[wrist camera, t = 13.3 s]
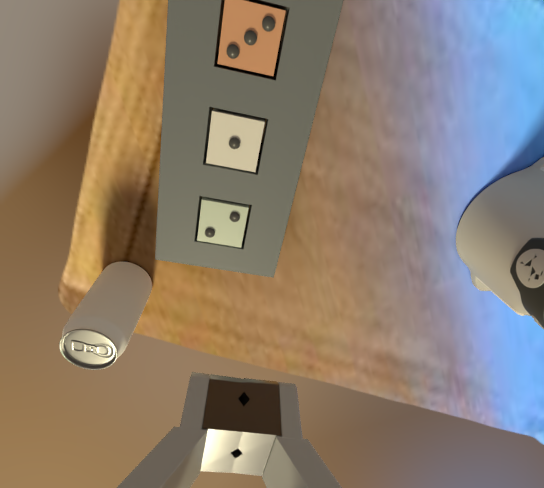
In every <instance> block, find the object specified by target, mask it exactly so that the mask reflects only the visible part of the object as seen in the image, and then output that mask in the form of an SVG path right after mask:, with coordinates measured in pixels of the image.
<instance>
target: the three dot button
mask: <svg viewBox="0 0 544 488" xmlns="http://www.w3.org/2000/svg"><path fill="white" fill-rule="evenodd" d="M285 12H286V11H285V10H281V9H277V8H273V7H269V6H265V5H261V4H257V3H253V2H249V1H245V0H225V3H224V11H223V20H222V29H221V37H220V46H219V55H218V63H217V64H221V65H225V66H230V67H234V68H239V69H243V70H247V71H252V72H256V73H261V74H265V75H270V76H274V70H275V65H276V60H277V54H278V49H279V44H280V38H281V33H282V28H283V22H284V17H285Z"/></svg>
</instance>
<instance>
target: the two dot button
mask: <svg viewBox="0 0 544 488" xmlns="http://www.w3.org/2000/svg"><path fill="white" fill-rule="evenodd" d="M248 209H249V205H248V204H242V203H237V202H231V201H226V200H220V199H214V198H209V197H203V198H202V202H201V210H200V219H199V228H198V236H197V241H203V242H209V243H215V244H222V245H228V246H234V247H240V248H241V246H242V241H243V236H244V230H245V225H246V220H247V214H248Z"/></svg>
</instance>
